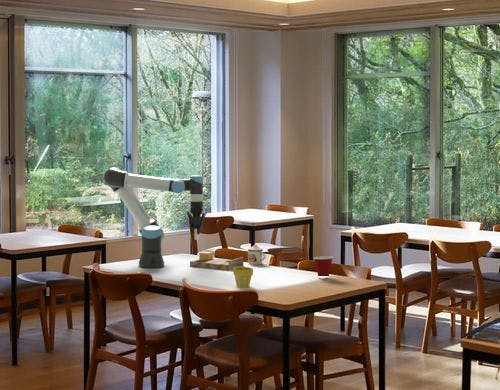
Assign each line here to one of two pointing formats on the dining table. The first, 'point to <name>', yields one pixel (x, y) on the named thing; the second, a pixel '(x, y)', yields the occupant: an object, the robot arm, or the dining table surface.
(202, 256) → the block
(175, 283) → the dining table surface
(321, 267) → the plastic cup
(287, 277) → the dining table surface
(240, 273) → the plant pot
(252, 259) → the teacup with lid
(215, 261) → the trap board
